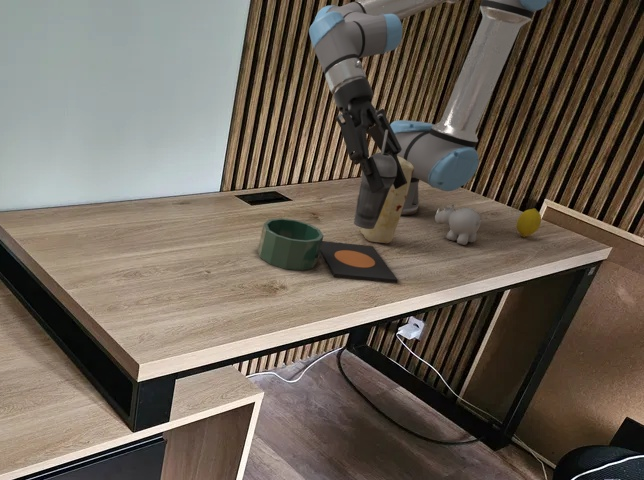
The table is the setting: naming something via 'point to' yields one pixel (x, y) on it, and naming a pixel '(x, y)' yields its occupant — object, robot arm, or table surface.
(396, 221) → the food model
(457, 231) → the toy rhinoceros
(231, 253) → the table surface
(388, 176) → the beverage cup
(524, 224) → the lemon
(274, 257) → the pot
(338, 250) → the mat
